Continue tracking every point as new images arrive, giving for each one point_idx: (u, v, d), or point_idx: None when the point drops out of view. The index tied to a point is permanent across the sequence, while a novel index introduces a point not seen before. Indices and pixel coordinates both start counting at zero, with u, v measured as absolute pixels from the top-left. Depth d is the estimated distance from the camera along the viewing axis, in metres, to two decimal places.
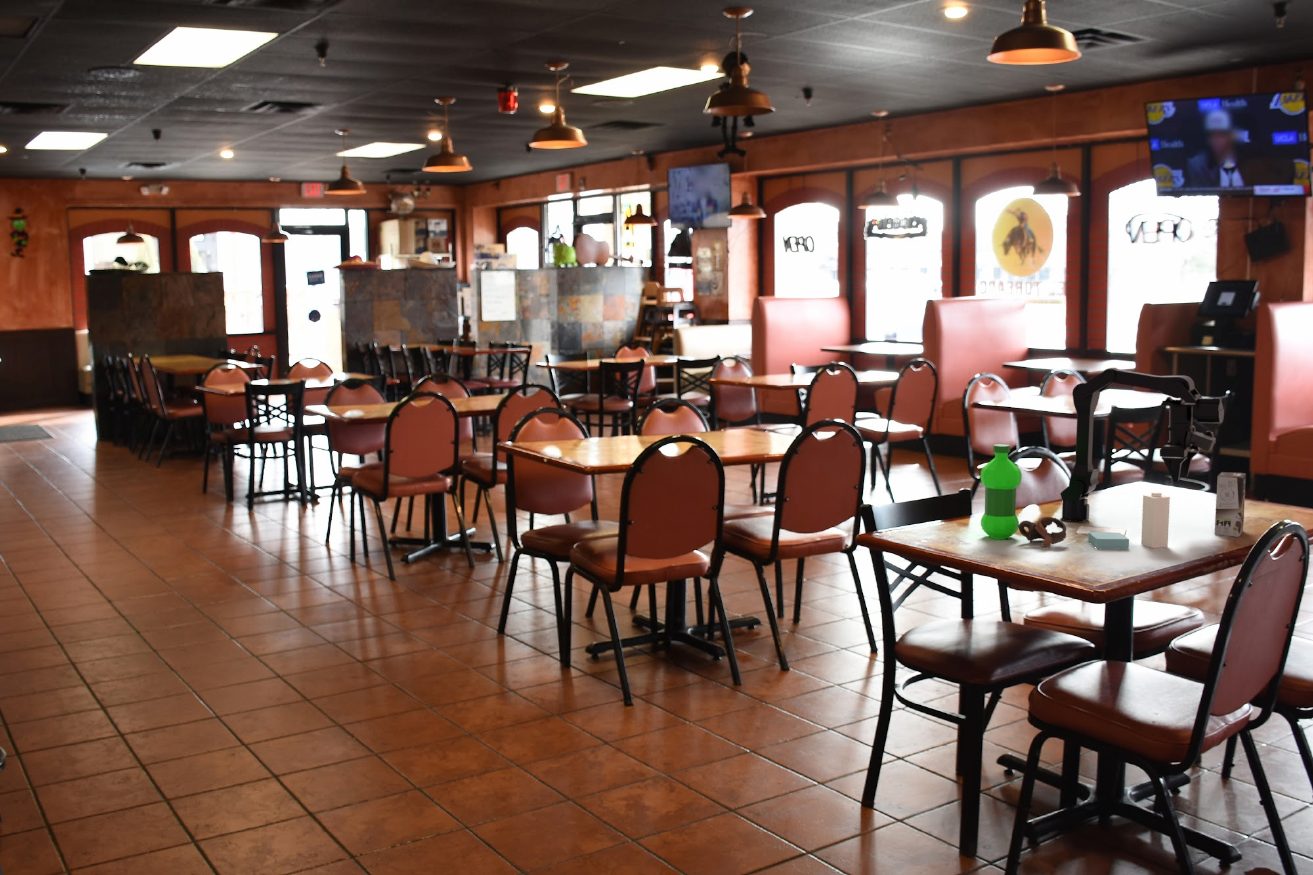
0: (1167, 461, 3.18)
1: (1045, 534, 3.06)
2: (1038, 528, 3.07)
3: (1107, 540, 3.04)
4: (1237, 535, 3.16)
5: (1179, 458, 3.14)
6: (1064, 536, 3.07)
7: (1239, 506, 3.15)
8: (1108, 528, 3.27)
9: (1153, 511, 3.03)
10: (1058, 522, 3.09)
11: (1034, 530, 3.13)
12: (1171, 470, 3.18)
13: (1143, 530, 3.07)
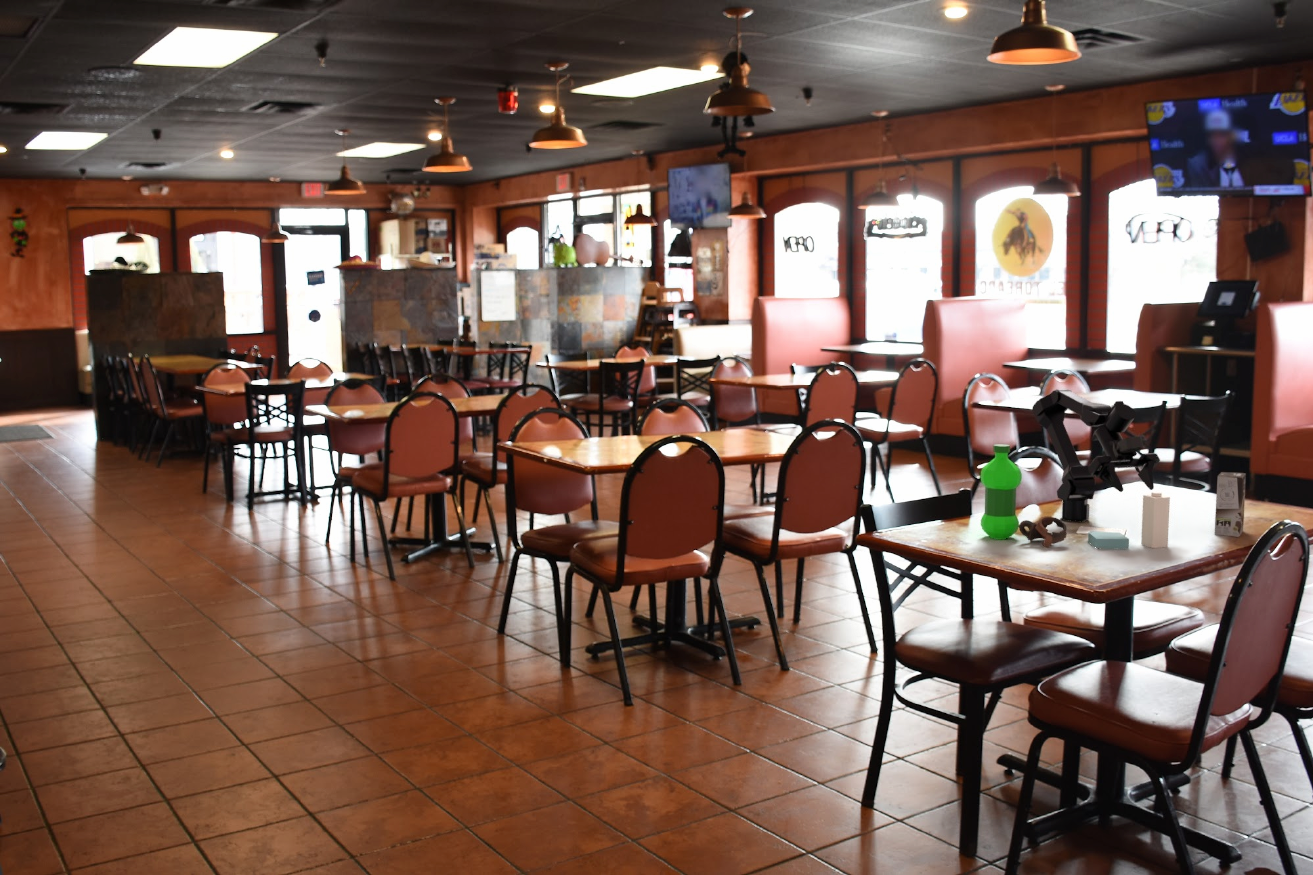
0: (1103, 477, 3.16)
1: (1046, 534, 3.06)
2: (1039, 528, 3.08)
3: (1107, 540, 3.04)
4: (1237, 535, 3.16)
5: (1103, 466, 3.13)
6: (1064, 536, 3.07)
7: (1239, 506, 3.15)
8: (1108, 528, 3.27)
9: (1153, 511, 3.03)
10: (1058, 522, 3.10)
11: (1034, 530, 3.14)
12: (1111, 483, 3.14)
13: (1143, 530, 3.07)
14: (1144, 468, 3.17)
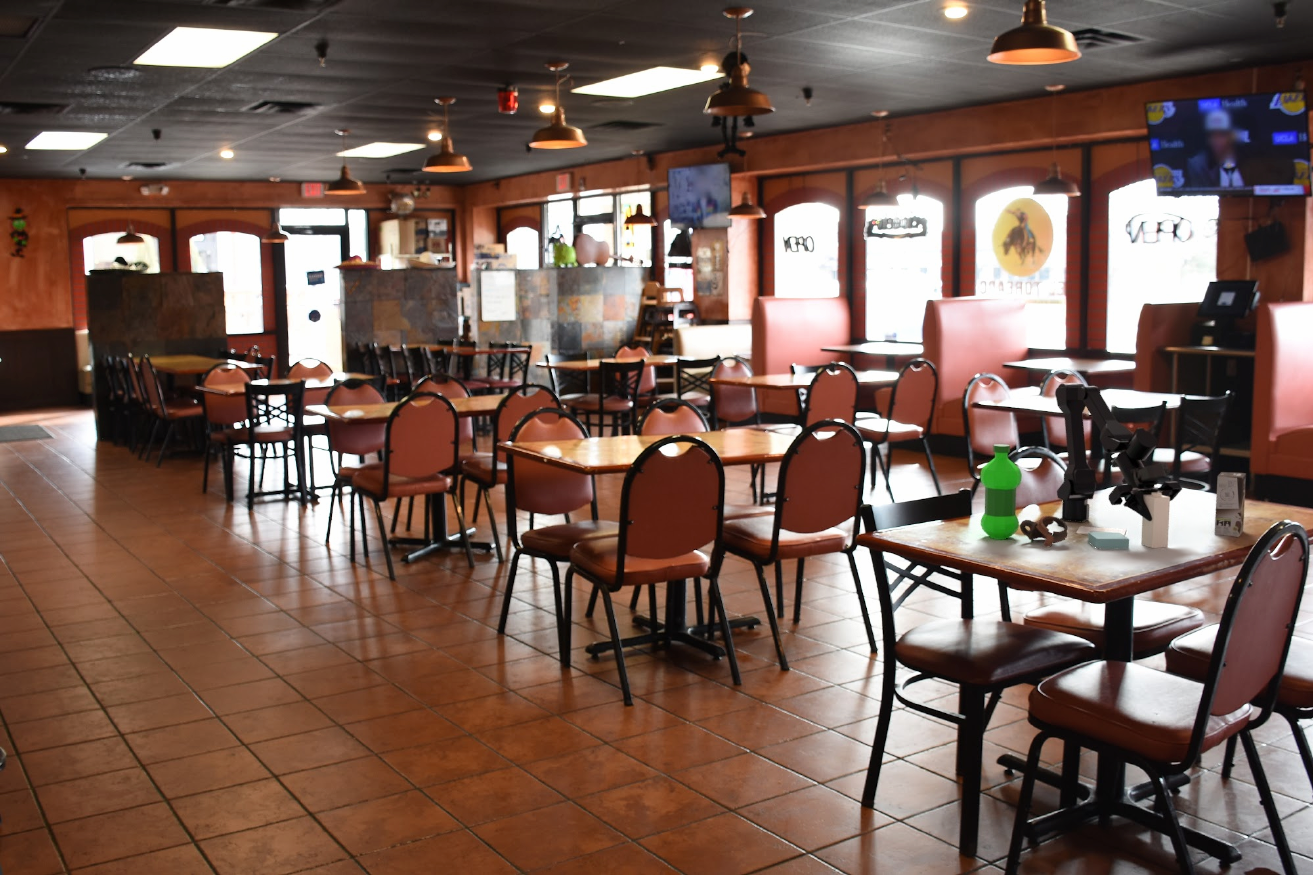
0: (1132, 506, 3.08)
1: (1047, 533, 3.07)
2: (1040, 527, 3.08)
3: (1107, 540, 3.04)
4: (1237, 535, 3.16)
5: (1131, 495, 3.06)
6: (1065, 535, 3.08)
7: (1239, 506, 3.15)
8: (1108, 528, 3.27)
9: (1153, 511, 3.03)
10: (1059, 521, 3.10)
11: (1035, 529, 3.14)
12: (1140, 512, 3.06)
13: (1143, 530, 3.07)
14: None
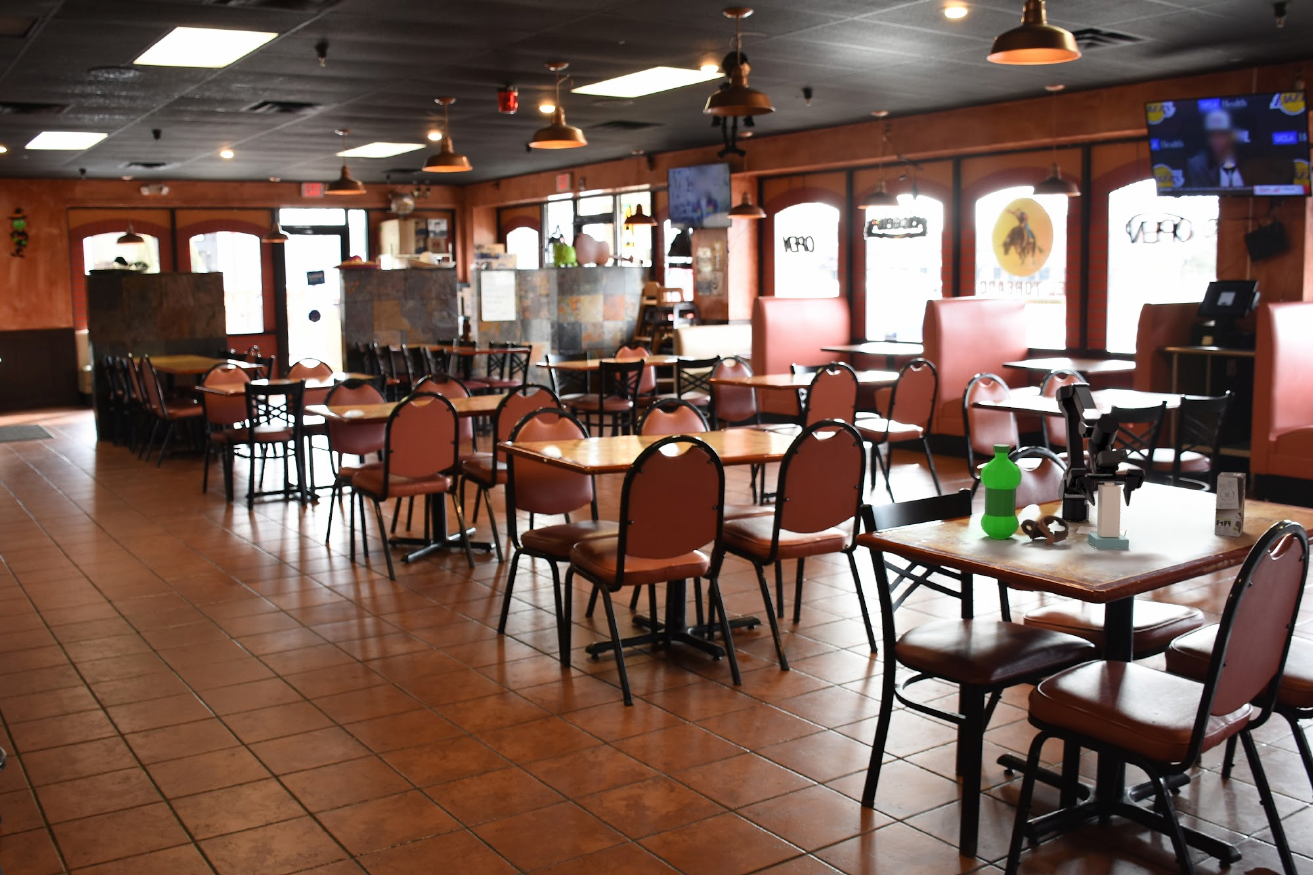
0: (1081, 490, 3.10)
1: (1048, 533, 3.08)
2: (1041, 527, 3.09)
3: (1107, 541, 3.04)
4: (1237, 535, 3.16)
5: (1077, 479, 3.09)
6: (1067, 534, 3.09)
7: (1239, 506, 3.15)
8: None
9: (1102, 500, 3.05)
10: (1060, 521, 3.11)
11: (1036, 529, 3.15)
12: (1087, 497, 3.08)
13: (1097, 520, 3.09)
14: (1126, 483, 3.08)
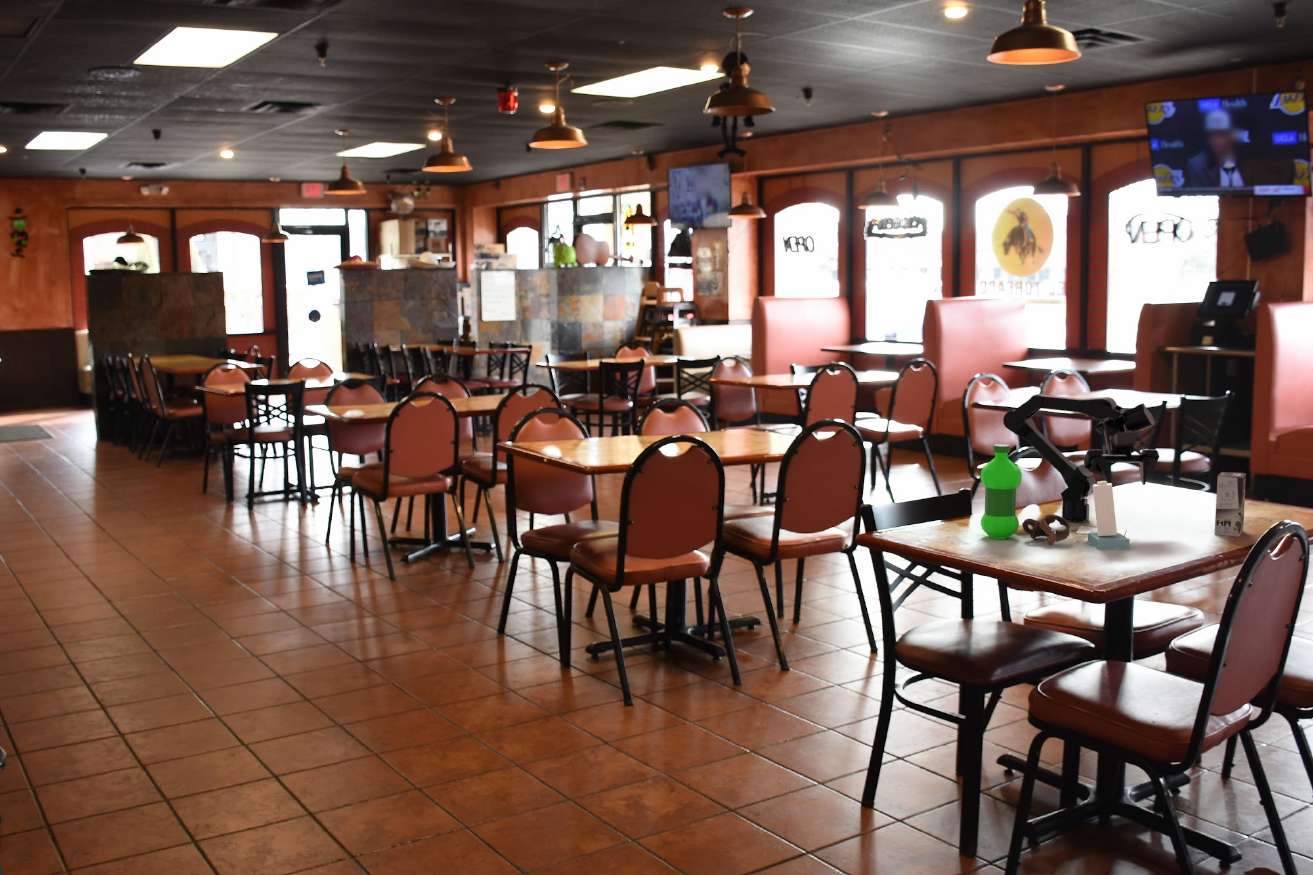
0: (1097, 470, 3.26)
1: (1049, 532, 3.09)
2: (1042, 526, 3.10)
3: (1108, 540, 3.04)
4: (1237, 535, 3.16)
5: (1093, 459, 3.24)
6: (1068, 534, 3.10)
7: (1239, 506, 3.15)
8: None
9: (1094, 499, 3.06)
10: (1061, 520, 3.12)
11: (1037, 528, 3.16)
12: (1102, 476, 3.24)
13: None
14: (1142, 463, 3.24)
